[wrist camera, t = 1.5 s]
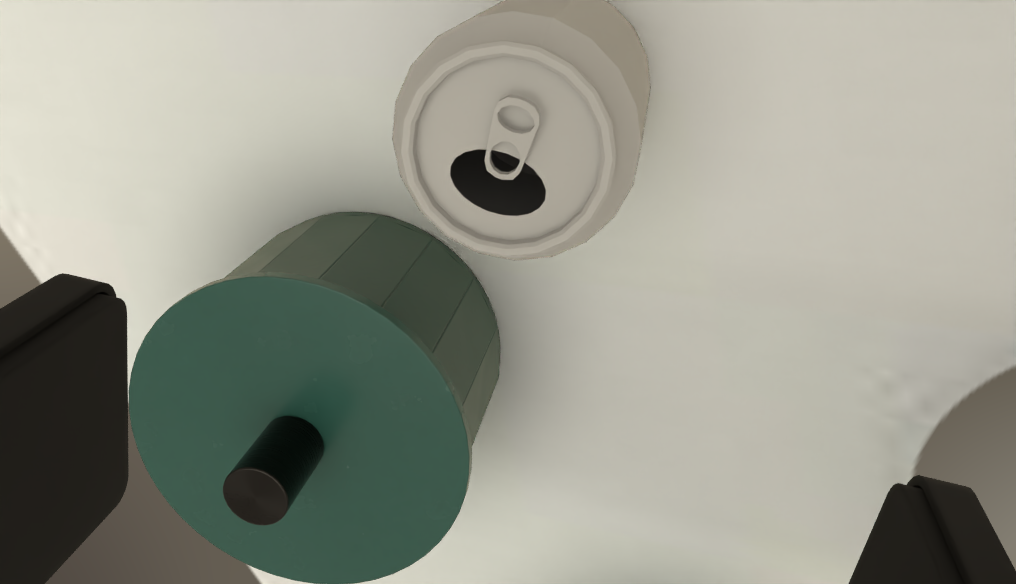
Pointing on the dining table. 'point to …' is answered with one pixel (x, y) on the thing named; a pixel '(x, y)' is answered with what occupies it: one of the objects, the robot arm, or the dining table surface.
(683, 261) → the dining table surface
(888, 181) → the dining table surface
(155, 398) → the pot lid
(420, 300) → the pot
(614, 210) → the can
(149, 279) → the dining table surface
